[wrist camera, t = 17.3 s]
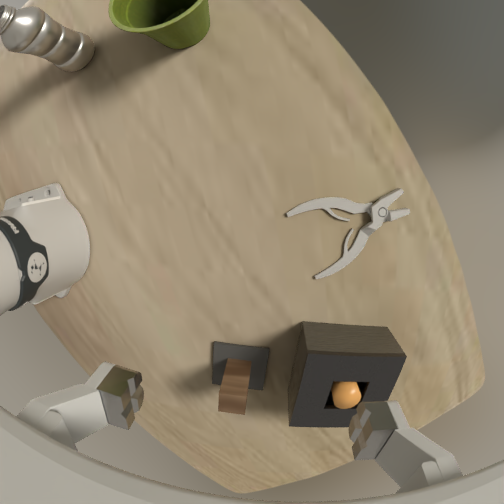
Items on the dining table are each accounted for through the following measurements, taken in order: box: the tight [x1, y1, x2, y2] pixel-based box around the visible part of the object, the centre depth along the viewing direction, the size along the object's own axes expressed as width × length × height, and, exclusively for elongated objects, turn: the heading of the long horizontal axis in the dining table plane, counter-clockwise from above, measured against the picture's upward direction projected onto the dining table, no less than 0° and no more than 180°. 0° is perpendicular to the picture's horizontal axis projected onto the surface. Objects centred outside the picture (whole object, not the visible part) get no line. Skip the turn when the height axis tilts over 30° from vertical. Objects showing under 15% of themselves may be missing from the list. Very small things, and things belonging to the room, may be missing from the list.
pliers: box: [286, 188, 410, 279], centre depth 35 cm, size 10×2×15 cm
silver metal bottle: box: [0, 5, 95, 72], centre depth 22 cm, size 6×7×20 cm
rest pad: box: [212, 341, 269, 390], centre depth 42 cm, size 8×8×1 cm
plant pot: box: [109, 0, 210, 49], centre depth 25 cm, size 12×12×11 cm
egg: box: [331, 381, 361, 409], centre depth 35 cm, size 4×4×6 cm
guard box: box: [288, 321, 407, 427], centre depth 37 cm, size 13×13×8 cm
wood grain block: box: [218, 358, 251, 415], centre depth 38 cm, size 4×4×8 cm
